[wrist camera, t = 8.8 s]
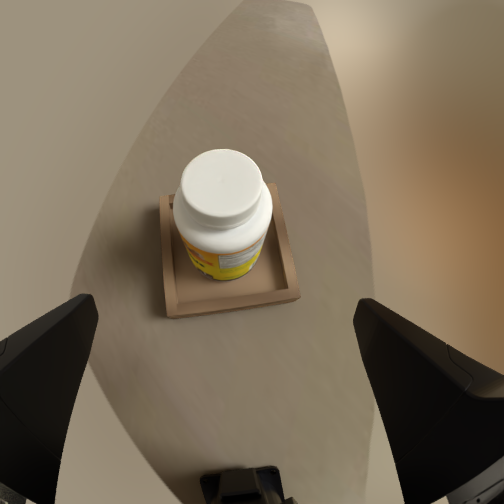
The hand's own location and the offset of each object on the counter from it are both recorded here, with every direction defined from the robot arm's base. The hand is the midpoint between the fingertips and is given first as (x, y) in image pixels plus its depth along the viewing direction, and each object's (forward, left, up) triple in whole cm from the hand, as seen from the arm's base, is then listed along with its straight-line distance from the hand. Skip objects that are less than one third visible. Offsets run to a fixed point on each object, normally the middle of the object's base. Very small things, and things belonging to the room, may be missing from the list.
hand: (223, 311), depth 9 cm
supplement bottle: (+6, -1, -13) cm, 14 cm away
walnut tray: (+7, -1, -14) cm, 15 cm away
